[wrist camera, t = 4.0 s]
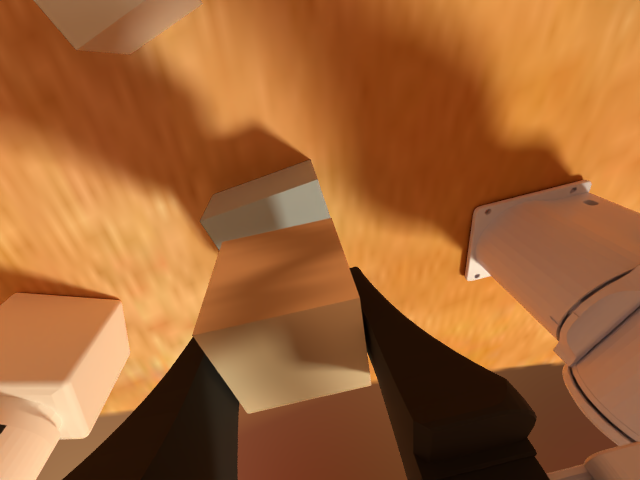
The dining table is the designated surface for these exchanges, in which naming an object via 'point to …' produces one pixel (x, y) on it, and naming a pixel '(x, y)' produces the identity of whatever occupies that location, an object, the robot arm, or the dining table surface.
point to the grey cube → (114, 21)
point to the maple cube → (284, 318)
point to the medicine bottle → (54, 373)
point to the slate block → (266, 204)
